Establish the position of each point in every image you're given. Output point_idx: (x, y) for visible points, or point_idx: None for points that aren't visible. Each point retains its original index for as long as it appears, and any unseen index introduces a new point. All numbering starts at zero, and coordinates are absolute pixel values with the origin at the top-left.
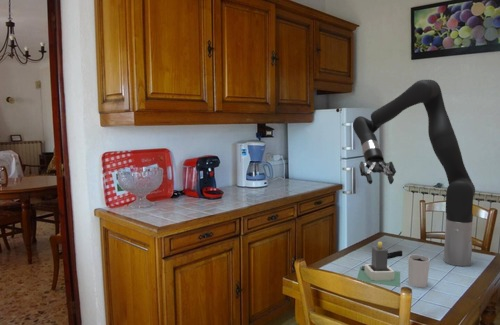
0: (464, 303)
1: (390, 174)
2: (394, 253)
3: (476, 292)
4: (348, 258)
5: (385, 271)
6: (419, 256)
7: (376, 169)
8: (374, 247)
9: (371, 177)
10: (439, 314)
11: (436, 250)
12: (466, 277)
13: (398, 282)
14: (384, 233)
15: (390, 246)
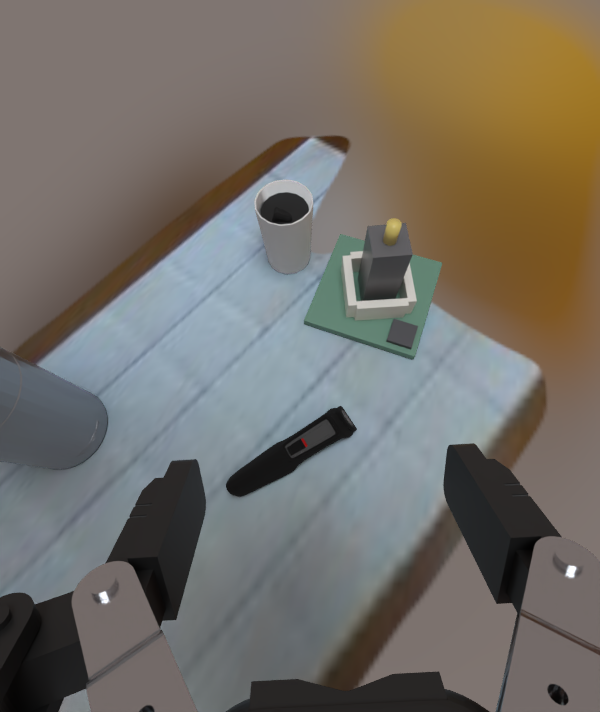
0: (228, 189)
1: (138, 550)
2: (266, 458)
3: (166, 233)
4: (438, 459)
5: None
6: (271, 225)
7: (396, 685)
8: (405, 250)
9: (476, 484)
10: (302, 152)
11: (47, 571)
12: (127, 312)
13: (335, 255)
14: None
15: (220, 632)
